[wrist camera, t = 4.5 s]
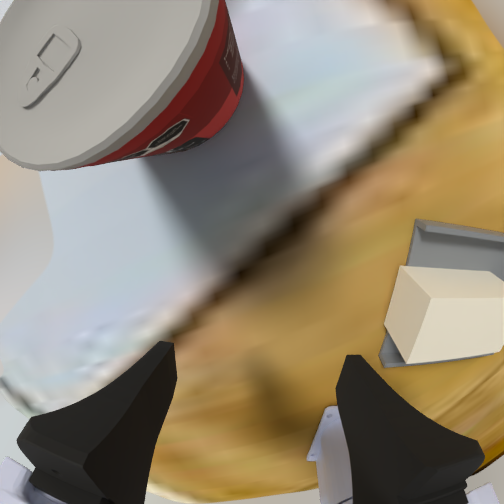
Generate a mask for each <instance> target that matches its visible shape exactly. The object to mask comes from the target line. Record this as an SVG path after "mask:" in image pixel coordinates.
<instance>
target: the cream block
mask: <svg viewBox="0 0 504 504" xmlns="http://www.w3.org/2000/svg"><path fill="white" fill-rule="evenodd" d="M384 325H385V327H386V329H387V330H388V332H389V334H390V336H391V337H392V339H393V341H394V343H395V344H396V346H397V348H398V350H399V352H400V353H401V355H402V357H403V359H404V361H405V362H406V364H412V363H423V362H433V361H442V360H450V359H457V358H464V357H471V356H477V355H483V354H489V353H495V352H500V350H501V348H502V346H503V344H504V281H502V280H501V279H500V278H498V277H497V276H495V275H494V274H493V273H491V272H490V271H475V270H459V269H444V268H428V267H413V266H400V267H399V271H398V275H397V279H396V283H395V287H394V291H393V294H392V298H391V301H390V305H389V308H388V312H387V315H386V318H385V322H384Z"/></svg>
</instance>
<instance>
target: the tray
mask: <svg viewBox="0 0 504 504" xmlns="http://www.w3.org/2000/svg"><path fill="white" fill-rule="evenodd" d="M406 266H413V267H428V268H444V269H459V270H475V271H490V272H491V273H493V274H494V275H495V276H497V277H498V278H500V279H501V280H502V281H504V233H502V232H496V231H491V230H485V229H479V228H474V227H468V226H462V225H455V224H449V223H443V222H436V221H429V220H422V219H415V225H414V230H413V235H412V240H411V244H410V249H409V253H408V258H407V262H406ZM493 354H494V353H489V354H483V355H477V356H471V357H464V358H457V359H450V360H442V361H433V362H423V363H412V364H406V362H405V361H404V359H403V357H402V355H401V353H400V352H399V350H398V348H397V346H396V344H395V343H394V341H393V339H392V337H391V336H390V334H389V332H388V330H387V332H386V335H385V338H384V341H383V344H382V347H381V350H380V353H379V357H380V360H381V362H382V364H383V366H384V368H385V367H400V366H412V365H423V364H432V363H441V362H449V361H456V360H463V359H470V358H476V357H482V356H487V355H493Z"/></svg>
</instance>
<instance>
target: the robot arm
mask: <svg viewBox="0 0 504 504" xmlns="http://www.w3.org/2000/svg"><path fill="white" fill-rule="evenodd" d="M176 382H177V370H176V361H175V351H174V343H171V342H164V341H159V342H158V343H157V344H156V345H155V346H154V347H152V348H151V349H150V350H149V351H148V352H147V353H146V354H145V355H144V356H143V357H142V358H141V359H140V360H139V361H137V362H136V363H135V364H134V365H133V366H132V367H131V368H129V369H128V370H127V371H126V372H124V373H123V374H122V375H121V376H119V377H118V378H117V379H115V380H114V381H113V382H111V383H110V384H109V385H107V386H106V387H104V388H103V389H101V390H99V391H98V392H96V393H94V394H92V395H90V396H89V397H87V398H85V399H83V400H81V401H79V402H77V403H74V404H72V405H69V406H67V407H64V408H62V409H59V410H56V411H53V412H49V413H46V414H42V415H38V416H34V417H31V418H30V420H29V421H28V422H27V424H26V426H25V427H24V429H23V430H22V432H21V433H20V435H19V437H18V438H17V444H18V446H19V448H20V449H21V451H22V452H23V453H24V454H25V456H26V457H27V458H28V459H29V460H30V462H31V463H32V464H33V465H34V466H35V467H36V468H35V470H34V471H33V472H32V471H30V470H29V469H28V468H26V467H25V466H23V465H21V464H20V463H18V462H16V461H14V460H13V459H11V458H10V457H8V456H7V457H5V459H4V461H3V462H2V464H1V466H0V504H144V501H145V494H146V488H147V482H148V477H149V472H150V467H151V462H152V458H153V453H154V449H155V445H156V442H157V438H158V436H159V433H160V430H161V428H162V425H163V422H164V420H165V417H166V414H167V412H168V409H169V406H170V404H171V401H172V398H173V395H174V390H175V386H176ZM336 397H337V405H338V406H329V407H327V408H326V409H325V411H324V413H323V416H322V419H321V422H320V424H319V427H318V430H317V432H316V435H315V437H314V440H313V442H312V445H311V447H310V450H309V452H308V455H307V460H308V461H316V466H317V475H318V484H319V492H320V502H321V504H500V503H499V501H498V498H497V496H496V494H495V491H494V489H493V486H492V484H491V482H488V483H487V484H484V485H483V486H480V487H478V488H476V489H474V490H472V491H470V492H469V493H467V494H465V491H464V489H465V488H466V487H467V483H466V481H465V480H466V479H467V478H468V477H469V476H470V475H471V474H472V473H473V472H474V471H476V470H477V469H478V467H479V466H480V465H481V464H482V463H483V461H484V459H485V455H484V453H483V451H482V449H481V447H480V445H479V443H478V441H477V440H474V439H471V438H468V437H465V436H463V435H460V434H457V433H455V432H453V431H451V430H449V429H447V428H445V427H443V426H441V425H439V424H437V423H436V422H434V421H433V420H431V419H429V418H428V417H426V416H425V415H423V414H422V413H420V412H419V411H418V410H416V409H415V408H414V407H412V406H411V405H410V404H409V403H407V402H406V401H405V400H404V399H403V398H402V397H401V396H399V395H398V394H397V393H396V392H395V391H394V390H393V389H392V388H391V387H390V386H389V385H388V384H387V383H386V382H385V381H384V380H383V379H382V378H381V377H380V376H379V375H378V374H377V372H376V371H375V370H374V369H373V368H372V367H371V366H370V365H369V364H368V363H367V362H366V360H365V359H364V358H363V357H362V356H361V355H347V356H346V359H345V362H344V365H343V368H342V371H341V374H340V377H339V380H338V383H337V386H336Z"/></svg>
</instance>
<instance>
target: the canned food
mask: <svg viewBox="0 0 504 504" xmlns="http://www.w3.org/2000/svg"><path fill="white" fill-rule="evenodd" d="M243 82H244V74H243V65H242V62H241V58H240V54H239V50H238V46H237V42H236V39H235V35H234V31H233V27H232V24H231V20H230V17H229V13H228V9H227V6H226V2H225V0H14V1H13V2H12V4H11V5H10V7H9V8H8V10H7V11H6V13H5V15H4V17H3V19H2V20H1V22H0V151H1V152H2V153H3V155H4V156H5V157H6V158H7V159H8V160H10V161H12V162H14V163H16V164H17V165H19V166H21V167H23V168H27V169H32V170H37V171H47V170H50V171H55V170H69V169H76V168H81V167H86V166H95V165H100V164H105V163H111V162H116V161H122V160H128V159H134V158H140V157H147V156H154V155H161V154H169V153H175V152H180V151H185V150H188V149H191V148H193V147H196V146H198V145H200V144H202V143H203V142H205V141H207V140H208V139H210V138H211V137H212V136H214V135H215V134H216V133H217V132H218V131H219V130H221V129H222V128H223V126H224V125H225V124H226V123H227V121H228V120H229V119H230V118H231V116H232V115H233V113H234V111H235V109H236V107H237V106H238V103H239V100H240V97H241V94H242V90H243Z"/></svg>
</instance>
